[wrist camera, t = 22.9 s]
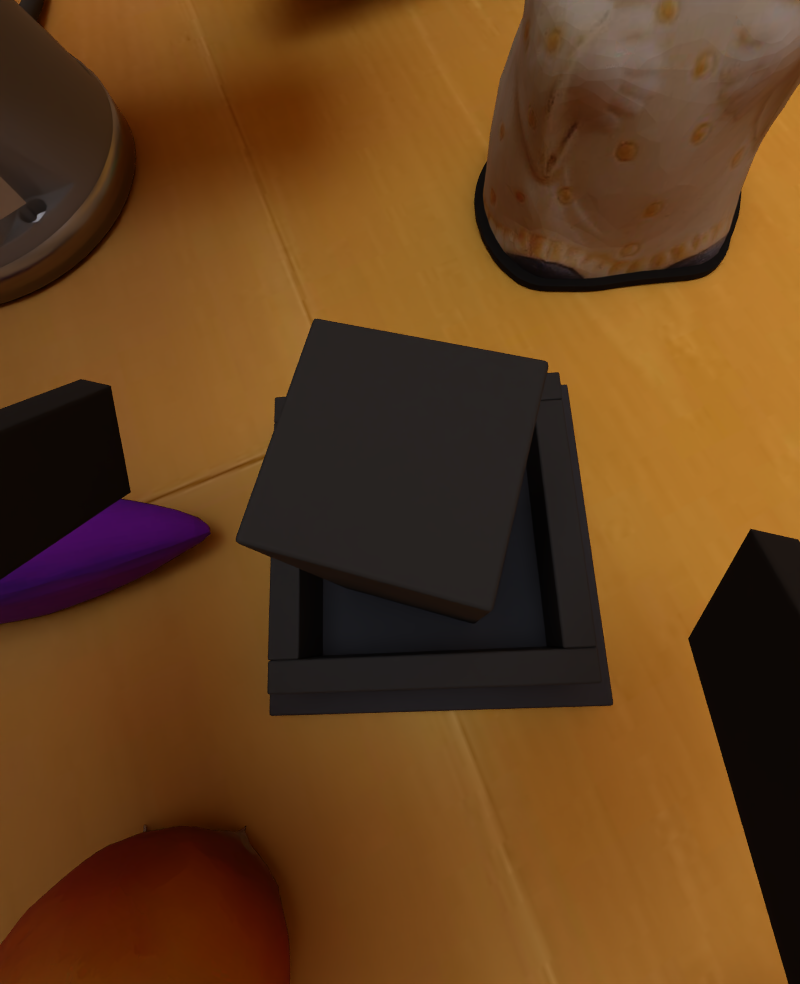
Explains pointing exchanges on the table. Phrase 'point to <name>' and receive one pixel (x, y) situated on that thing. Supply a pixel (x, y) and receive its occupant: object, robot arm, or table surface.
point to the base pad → (451, 642)
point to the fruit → (156, 917)
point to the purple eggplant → (99, 558)
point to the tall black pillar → (398, 467)
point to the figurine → (630, 136)
